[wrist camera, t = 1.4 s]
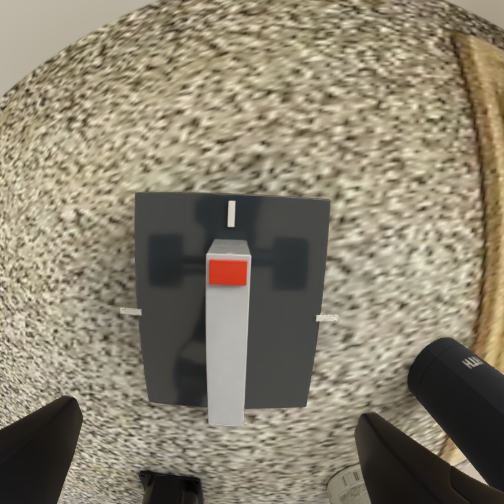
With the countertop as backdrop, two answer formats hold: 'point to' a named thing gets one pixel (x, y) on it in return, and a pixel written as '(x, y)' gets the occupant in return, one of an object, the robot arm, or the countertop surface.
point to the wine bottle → (464, 403)
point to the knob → (227, 330)
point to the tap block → (260, 299)
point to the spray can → (348, 487)
